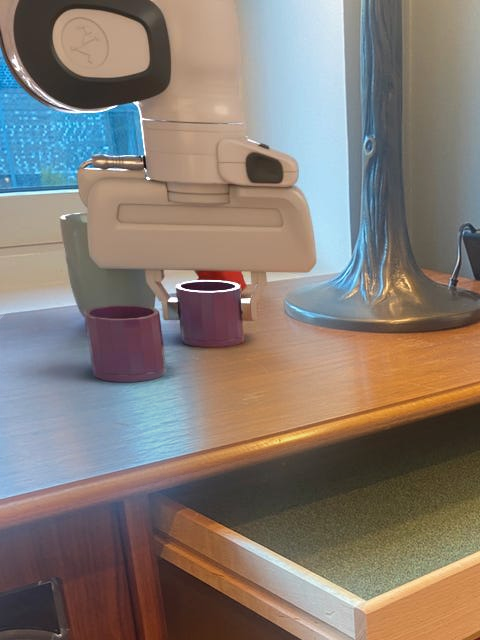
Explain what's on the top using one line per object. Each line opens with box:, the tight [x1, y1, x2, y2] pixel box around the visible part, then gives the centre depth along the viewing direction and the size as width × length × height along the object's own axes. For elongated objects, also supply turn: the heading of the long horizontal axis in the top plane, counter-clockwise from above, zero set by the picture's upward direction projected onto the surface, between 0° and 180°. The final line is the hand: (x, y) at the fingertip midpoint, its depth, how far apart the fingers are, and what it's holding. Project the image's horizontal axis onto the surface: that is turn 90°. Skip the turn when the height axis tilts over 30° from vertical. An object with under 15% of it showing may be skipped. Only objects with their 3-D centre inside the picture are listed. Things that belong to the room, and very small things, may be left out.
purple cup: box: [175, 280, 245, 348], centre depth 91 cm, size 6×6×5 cm
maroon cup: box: [83, 305, 167, 383], centre depth 80 cm, size 6×6×5 cm
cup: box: [59, 212, 157, 318], centre depth 93 cm, size 8×8×10 cm
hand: (212, 319), depth 91 cm, fingers closed on purple cup, 6 cm apart
